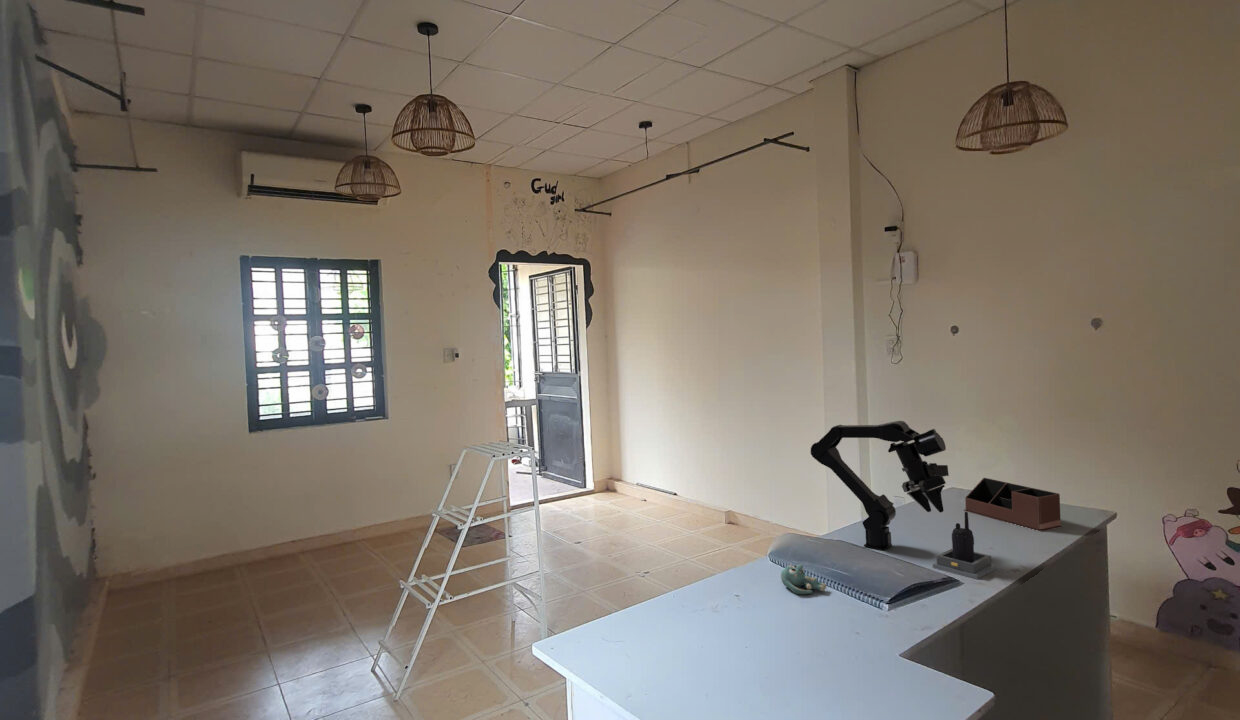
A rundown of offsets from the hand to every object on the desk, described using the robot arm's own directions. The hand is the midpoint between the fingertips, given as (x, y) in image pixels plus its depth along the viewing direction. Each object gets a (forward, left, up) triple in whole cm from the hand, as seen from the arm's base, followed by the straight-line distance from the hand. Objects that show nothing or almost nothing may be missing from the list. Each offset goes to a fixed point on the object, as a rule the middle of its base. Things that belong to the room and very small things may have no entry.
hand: (935, 511), depth 186 cm
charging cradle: (+9, -5, -13) cm, 17 cm away
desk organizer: (+7, +53, -14) cm, 55 cm away
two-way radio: (+9, -6, -13) cm, 16 cm away
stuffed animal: (-19, -44, -14) cm, 50 cm away
